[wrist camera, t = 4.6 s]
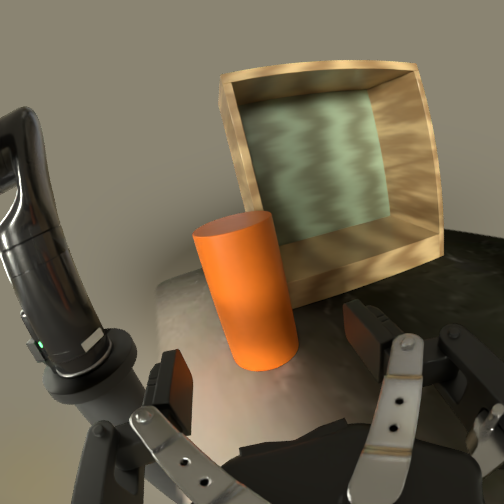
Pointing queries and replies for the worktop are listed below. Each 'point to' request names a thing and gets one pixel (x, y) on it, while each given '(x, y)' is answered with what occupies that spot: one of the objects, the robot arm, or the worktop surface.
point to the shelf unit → (337, 169)
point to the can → (249, 288)
